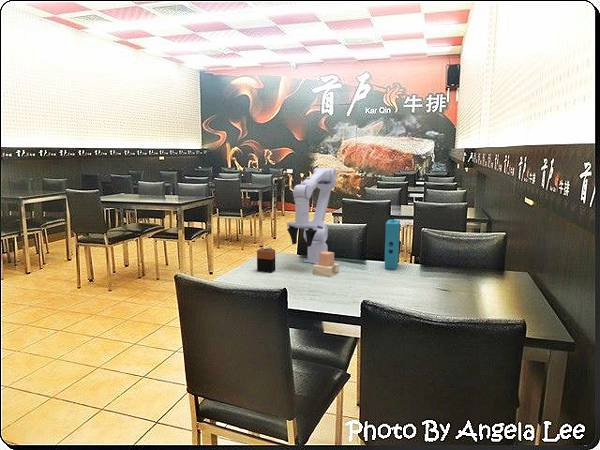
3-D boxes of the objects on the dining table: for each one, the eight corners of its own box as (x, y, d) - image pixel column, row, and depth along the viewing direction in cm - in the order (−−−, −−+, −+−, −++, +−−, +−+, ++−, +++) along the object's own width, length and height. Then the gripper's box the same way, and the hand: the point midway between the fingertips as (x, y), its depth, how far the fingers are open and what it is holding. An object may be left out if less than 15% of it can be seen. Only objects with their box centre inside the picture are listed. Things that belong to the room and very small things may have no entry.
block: (387, 263, 200) (388, 219, 196) (398, 264, 198) (400, 220, 195) (383, 270, 188) (385, 223, 185) (395, 271, 187) (397, 224, 184)
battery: (271, 273, 183) (271, 249, 182) (256, 271, 186) (256, 248, 184) (275, 270, 187) (275, 247, 186) (261, 268, 190) (261, 246, 188)
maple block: (322, 270, 188) (322, 261, 188) (338, 273, 184) (339, 263, 184) (312, 275, 182) (312, 265, 181) (330, 277, 178) (330, 268, 177)
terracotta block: (325, 262, 186) (325, 251, 185) (334, 264, 183) (334, 252, 182) (318, 264, 182) (318, 252, 182) (327, 266, 179) (327, 254, 179)
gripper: (282, 212, 187) (282, 244, 189) (310, 215, 179) (310, 248, 181) (292, 211, 193) (292, 242, 195) (320, 214, 184) (319, 246, 186)
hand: (301, 245), depth 188 cm, fingers open, 7 cm apart
